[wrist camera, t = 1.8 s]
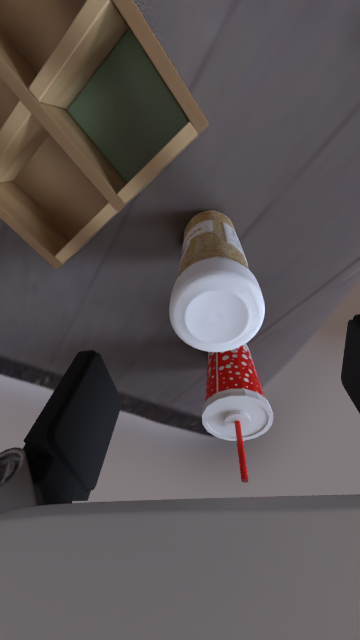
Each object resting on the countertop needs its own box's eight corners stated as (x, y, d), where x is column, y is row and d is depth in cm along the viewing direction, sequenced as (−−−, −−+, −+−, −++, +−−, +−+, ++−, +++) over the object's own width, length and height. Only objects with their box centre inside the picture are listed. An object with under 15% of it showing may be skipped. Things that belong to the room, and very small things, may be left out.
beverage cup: (221, 379, 33) (231, 508, 21) (191, 347, 31) (184, 472, 19) (266, 357, 31) (305, 488, 19) (237, 321, 28) (262, 445, 17)
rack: (34, -151, 14) (-31, -265, 10) (207, 127, 20) (208, 123, 16) (-81, 92, 20) (-151, 79, 16) (78, 251, 25) (56, 270, 22)
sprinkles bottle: (183, 210, 23) (164, 272, 11) (238, 209, 22) (274, 272, 11) (184, 261, 25) (170, 355, 14) (233, 261, 25) (260, 357, 14)
